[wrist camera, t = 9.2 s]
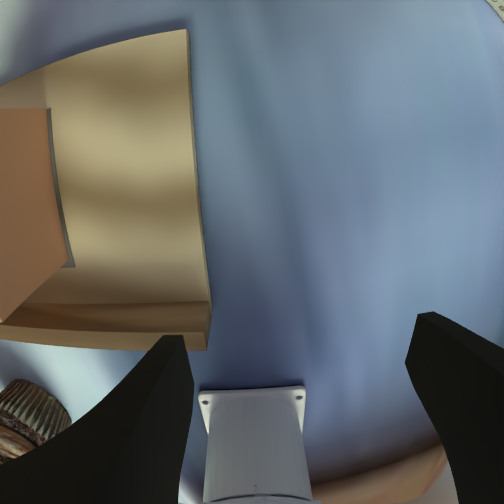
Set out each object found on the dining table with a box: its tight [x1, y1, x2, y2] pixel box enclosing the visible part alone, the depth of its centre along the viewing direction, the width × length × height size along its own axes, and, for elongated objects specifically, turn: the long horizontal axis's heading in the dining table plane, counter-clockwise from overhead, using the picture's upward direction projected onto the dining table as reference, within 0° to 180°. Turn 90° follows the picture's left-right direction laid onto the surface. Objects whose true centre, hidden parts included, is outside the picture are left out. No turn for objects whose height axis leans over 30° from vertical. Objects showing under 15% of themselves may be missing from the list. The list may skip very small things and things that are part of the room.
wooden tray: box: [0, 29, 213, 351], centre depth 14 cm, size 16×18×4 cm
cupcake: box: [0, 379, 72, 464], centre depth 19 cm, size 10×10×10 cm
